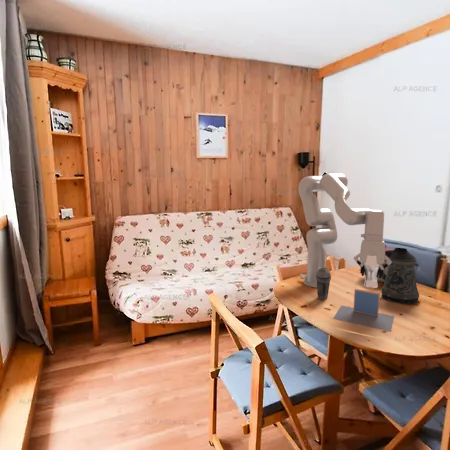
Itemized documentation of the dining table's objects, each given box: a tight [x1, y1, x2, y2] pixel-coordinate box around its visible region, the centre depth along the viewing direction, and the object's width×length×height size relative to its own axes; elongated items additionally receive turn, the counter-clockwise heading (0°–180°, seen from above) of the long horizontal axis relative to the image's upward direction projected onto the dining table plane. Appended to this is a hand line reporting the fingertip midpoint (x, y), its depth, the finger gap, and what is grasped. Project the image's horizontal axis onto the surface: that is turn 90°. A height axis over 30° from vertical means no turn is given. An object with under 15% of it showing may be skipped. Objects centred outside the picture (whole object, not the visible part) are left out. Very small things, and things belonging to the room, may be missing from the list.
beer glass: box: [363, 255, 380, 289], centre depth 145 cm, size 7×7×15 cm
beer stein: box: [380, 247, 420, 306], centre depth 157 cm, size 16×19×25 cm
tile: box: [353, 288, 381, 316], centre depth 140 cm, size 10×2×10 cm, turn 58°
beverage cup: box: [316, 259, 332, 301], centre depth 157 cm, size 7×7×20 cm
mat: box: [332, 305, 395, 333], centre depth 137 cm, size 22×16×1 cm
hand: (371, 276), depth 146 cm, fingers closed on beer glass, 6 cm apart
